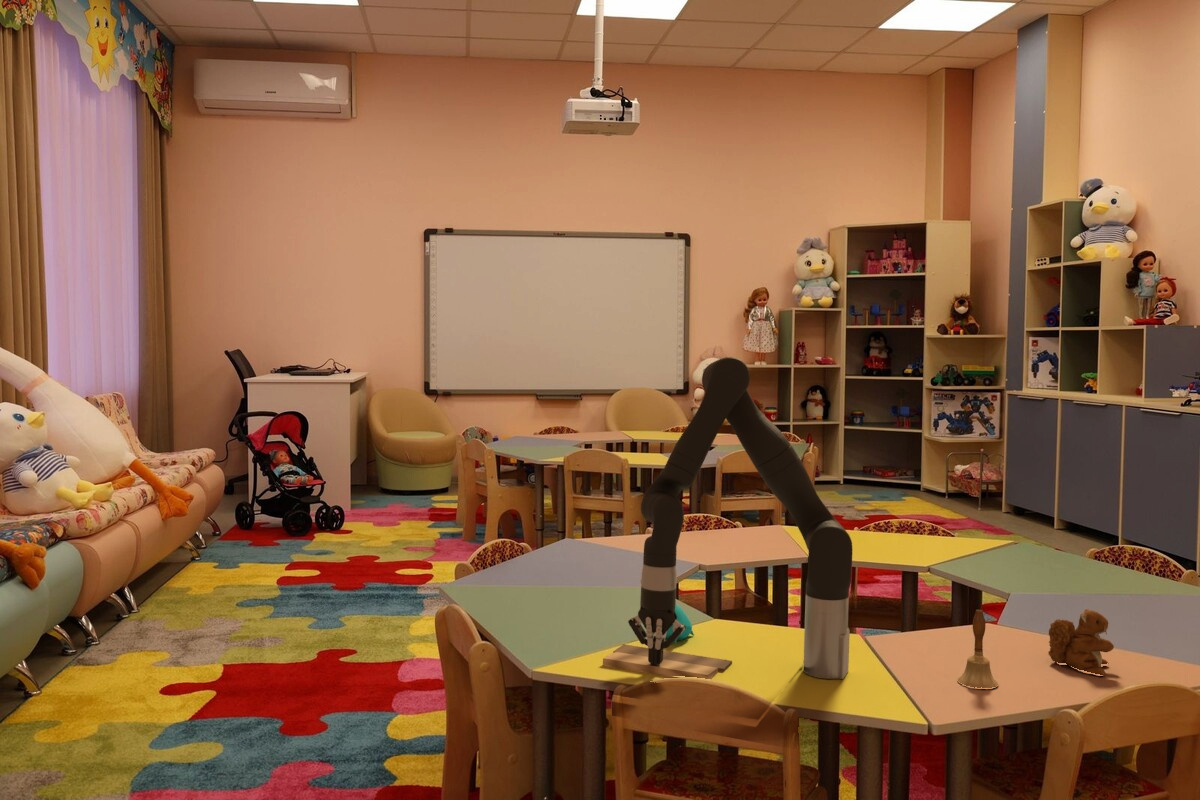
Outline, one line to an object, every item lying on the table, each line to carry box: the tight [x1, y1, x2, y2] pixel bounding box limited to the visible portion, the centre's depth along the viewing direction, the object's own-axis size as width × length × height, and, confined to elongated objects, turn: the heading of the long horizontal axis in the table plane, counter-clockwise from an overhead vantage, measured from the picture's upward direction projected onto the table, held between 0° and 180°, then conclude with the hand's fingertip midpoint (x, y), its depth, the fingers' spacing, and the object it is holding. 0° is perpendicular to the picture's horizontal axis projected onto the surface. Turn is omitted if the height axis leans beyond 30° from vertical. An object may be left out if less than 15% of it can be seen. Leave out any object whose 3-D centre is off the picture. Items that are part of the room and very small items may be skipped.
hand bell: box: [957, 609, 999, 688], centre depth 217 cm, size 8×8×16 cm
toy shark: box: [665, 602, 695, 644], centre depth 243 cm, size 10×18×11 cm, turn 178°
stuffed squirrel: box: [1048, 608, 1115, 676], centre depth 230 cm, size 10×14×13 cm
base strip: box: [612, 644, 733, 673], centre depth 227 cm, size 26×6×2 cm, turn 66°
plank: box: [602, 652, 719, 680], centre depth 221 cm, size 24×7×2 cm, turn 66°
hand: (655, 664), depth 219 cm, fingers closed
